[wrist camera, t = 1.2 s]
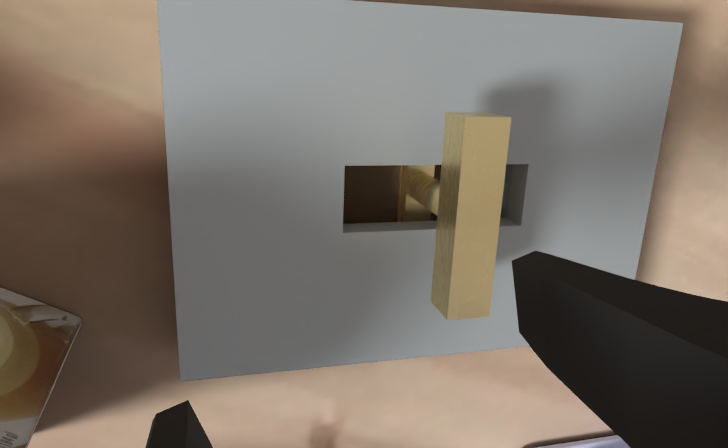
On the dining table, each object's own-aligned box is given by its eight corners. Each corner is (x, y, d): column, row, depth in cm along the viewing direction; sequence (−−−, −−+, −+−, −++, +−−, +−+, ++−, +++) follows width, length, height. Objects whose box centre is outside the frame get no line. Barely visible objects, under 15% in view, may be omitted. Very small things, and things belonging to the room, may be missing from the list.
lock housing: (631, 25, 25) (683, 22, 23) (585, 309, 29) (624, 336, 27) (163, -4, 20) (156, -13, 18) (183, 343, 24) (180, 381, 22)
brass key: (435, 100, 24) (511, 117, 18) (423, 254, 26) (489, 316, 20) (399, 100, 24) (465, 116, 18) (390, 256, 26) (447, 320, 20)
